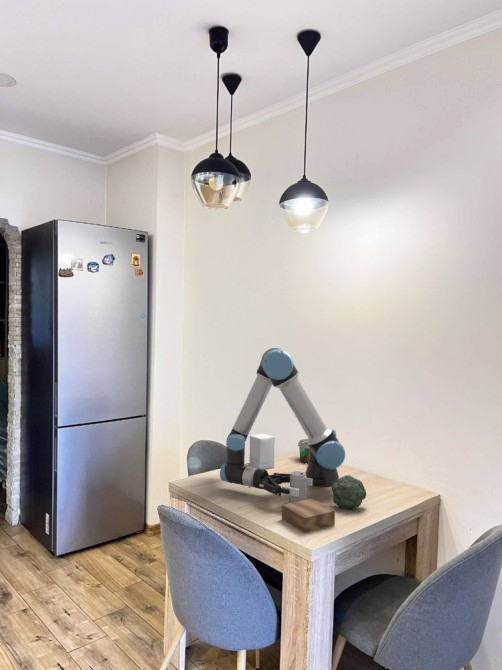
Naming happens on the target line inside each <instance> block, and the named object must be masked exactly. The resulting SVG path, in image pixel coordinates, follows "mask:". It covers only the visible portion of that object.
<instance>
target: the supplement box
mask: <svg viewBox="0 0 502 670" xmlns="http://www.w3.org/2000/svg"><path fill="white" fill-rule="evenodd" d="M275 438H276V437H275V436H272V435H269V434H266V433H257V434H251V435H249V458H248V459H249V465H248V467H253V468H257V469H263V470H269V469H274V468H275V444H276V443H275V440H276V439H275Z"/></svg>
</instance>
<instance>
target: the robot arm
mask: <svg viewBox="0 0 502 670" xmlns="http://www.w3.org/2000/svg"><path fill="white" fill-rule="evenodd" d="M255 373H256V378H255V379H254V382H253V384H252V386H251V388H250V391H249V392H248V395H247V397H246V399H245V401H244V404H243V405H242V407H241V409H240V411H239V414H238V416H237V418H236V420H235V422H234V424H233V426H232V429H231V431H230V432H229V434H228V435H227V437H226V444H225V445H226V447H225V448H226V455H225V456H226V462H224V463H223V464H222V465H221V466H220V470H219V477H220V479H221V481H223V482H225V483H229V484H233V485H238V486H239V485H241V486H245V487H248V488H255V489H260V490H264V491H267V492H268V493H270V494H272V495H274V496H277V495H278V496H279V497H282V494H283V495H286V496H287V495H288V496H290V495H291V496H296V497H299V489H297V488H291V487H290V486H285V485H283V486H281V484H287V483H288V484H290V475H291V473H280V472H273V474H269V471H268V470H267V469H257V468H253V467H251V466H246V465H245V457H246V455H245V454H246V452H245V451H246V441H247V439H248V437H249V434H250V431H251V430H252V428H253V425H254V423H255V422H256V420H257V417H258V415H259V414H260V411H261V410H262V407H263V405H264V403H265V401H266V398H267V396H268V394H269V393H270V390H271V388H272V387H274V388H276V389H279V391H280V393H281V394H282V396H283V397H284V399H285V400H286V403H287V404H288V406H289V408H290V409H291V411H292V413H293V414H294V415H295V418H296V419H297V421H298V423H299V425H300V426H301V428H302V430H303V432H304V434H305V435H306V436H307V439H308V441H307V444H308V445H309V463H308V464H307V466H306V470H305V473H306V476H307V487H309V486H310V487H313V485H314V486H317V487H318V486H319V487H330V486H331V487H332V486H333V484H334V483H336V482H337V481H338V480H339V478H340V475H339V473H338V469H337V468H339V467H341V465H342V464H344V461H345V459H346V451H345V447H344V446H343V444H341V442H340V441H339V439H338V438H337V431H336V429H333V428H330V427H329V428H328V427H327V426H326V424H325V422H324V421H323V419H322V418H321V416H320V414H319V413H318V411H317V409H316V408H315V406H314V404H313V402H312V400H311V399H310V397H309V395H308V394H307V392H306V390H305V388H304V387H303V385H302V384H301V381H300V380H299V378H298V376H299V371H298V369H297V367H296V366H295V364H294V361H293V359H292V357H291V355H290V354H289V353H288V352H287V351H285V350H283V349H281V348H277V347H273V348H269V349H268V350H265V352H264V353H263V354H262V357H261V359H260V362H259V366H258V367H257V370H256V372H255Z"/></svg>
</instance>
